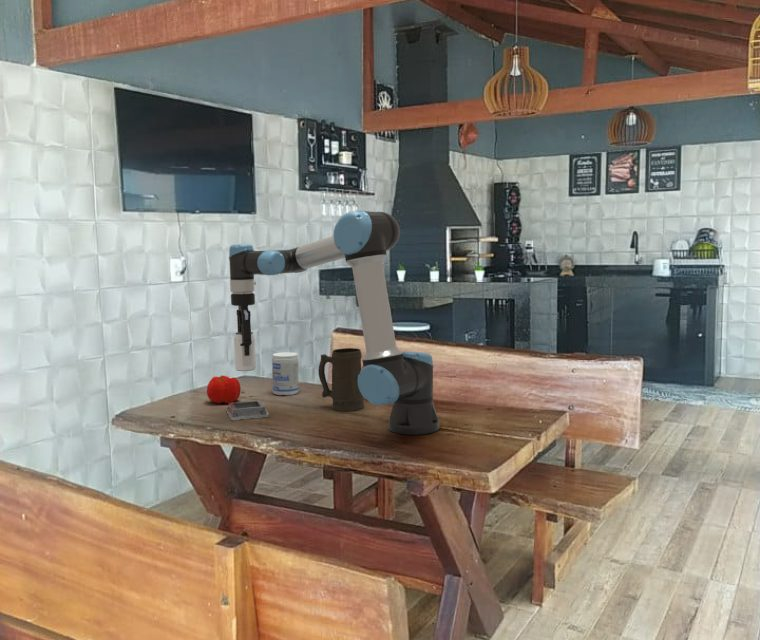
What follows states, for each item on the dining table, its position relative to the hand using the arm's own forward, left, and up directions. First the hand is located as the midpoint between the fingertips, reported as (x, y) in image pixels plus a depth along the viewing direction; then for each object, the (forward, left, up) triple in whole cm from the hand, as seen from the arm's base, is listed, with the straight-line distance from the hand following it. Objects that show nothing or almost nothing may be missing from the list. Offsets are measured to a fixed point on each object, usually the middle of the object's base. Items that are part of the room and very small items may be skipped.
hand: (245, 363), depth 235 cm
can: (0, 0, -2) cm, 2 cm away
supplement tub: (+26, -18, -17) cm, 36 cm away
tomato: (+20, +5, -17) cm, 27 cm away
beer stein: (-3, -31, -17) cm, 35 cm away
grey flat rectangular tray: (0, 0, -17) cm, 17 cm away
